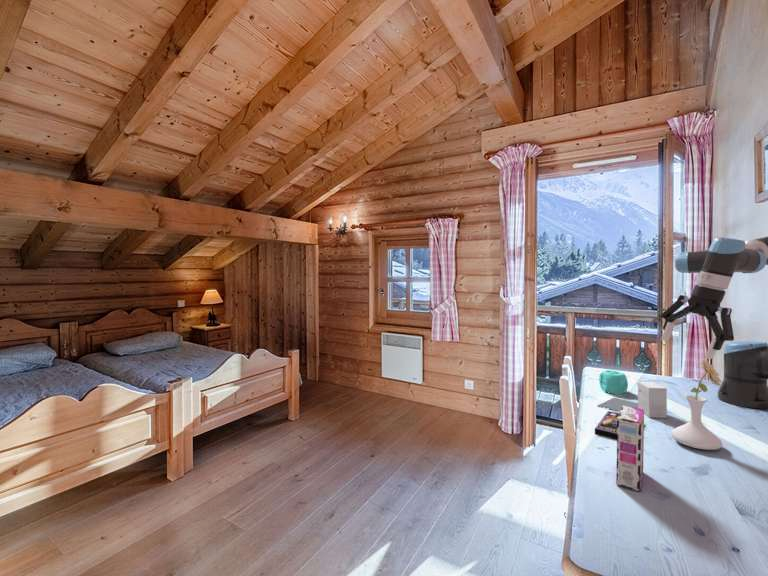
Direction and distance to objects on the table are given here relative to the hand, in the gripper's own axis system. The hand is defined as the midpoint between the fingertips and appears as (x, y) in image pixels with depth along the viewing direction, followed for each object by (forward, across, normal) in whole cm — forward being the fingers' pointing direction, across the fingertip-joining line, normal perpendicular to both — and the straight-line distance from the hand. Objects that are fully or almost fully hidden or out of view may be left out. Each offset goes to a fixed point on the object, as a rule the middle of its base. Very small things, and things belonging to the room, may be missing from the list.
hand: (685, 348), depth 117 cm
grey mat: (+30, -12, -1) cm, 32 cm away
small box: (+27, -3, +2) cm, 27 cm away
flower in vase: (+23, +17, -9) cm, 30 cm away
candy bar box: (+25, +24, -43) cm, 55 cm away
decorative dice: (+32, -25, +12) cm, 42 cm away
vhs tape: (+29, +2, -19) cm, 35 cm away
